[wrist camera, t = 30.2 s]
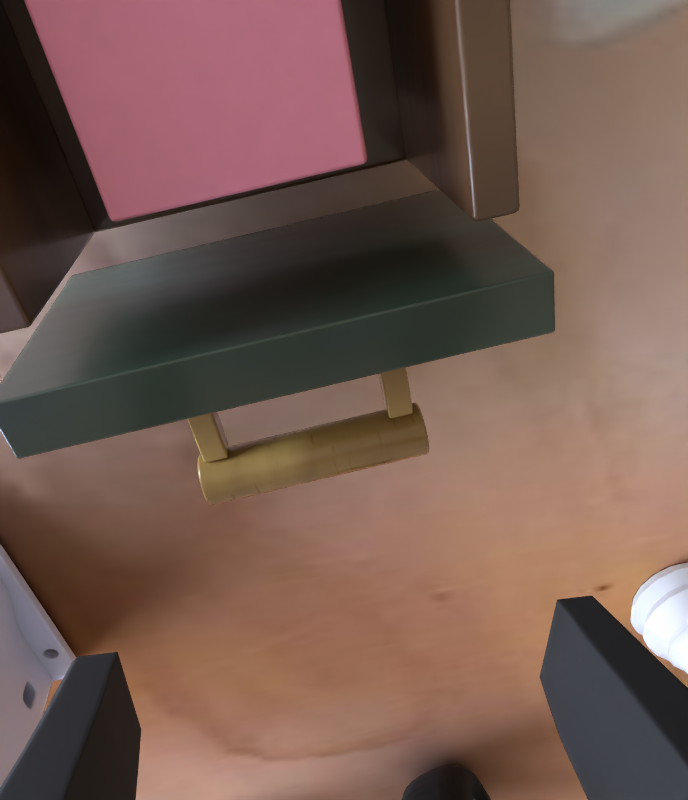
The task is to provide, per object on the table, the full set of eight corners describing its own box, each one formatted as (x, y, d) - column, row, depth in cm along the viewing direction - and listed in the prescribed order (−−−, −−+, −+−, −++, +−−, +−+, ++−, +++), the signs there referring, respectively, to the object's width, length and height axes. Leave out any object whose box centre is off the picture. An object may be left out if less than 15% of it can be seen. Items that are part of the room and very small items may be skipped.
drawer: (470, 361, 19) (559, 499, 14) (144, 438, 19) (104, 607, 14) (384, -491, 11) (533, -1027, 5) (-211, -358, 10) (-709, -765, 5)
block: (336, 125, 14) (369, 163, 11) (145, 169, 14) (110, 224, 11) (291, -122, 12) (312, -183, 8) (62, -70, 12) (-21, -107, 8)
